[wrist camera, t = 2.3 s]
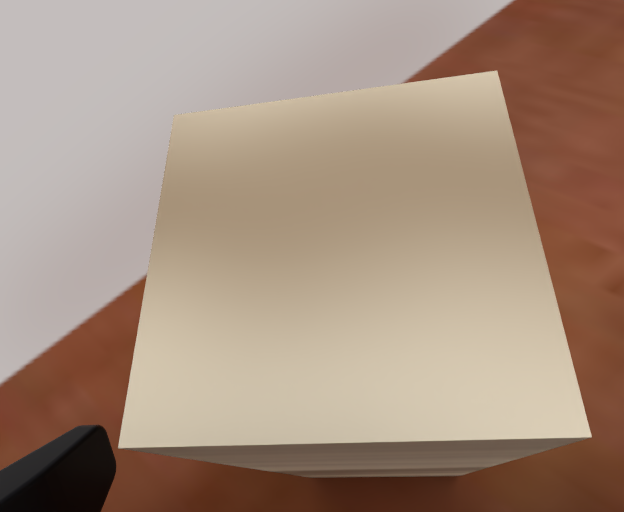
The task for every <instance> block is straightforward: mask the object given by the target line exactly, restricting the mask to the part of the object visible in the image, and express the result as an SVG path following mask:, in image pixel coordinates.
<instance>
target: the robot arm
mask: <svg viewBox="0 0 624 512" xmlns="http://www.w3.org/2000/svg"><path fill="white" fill-rule="evenodd" d="M115 472H116V461H115V457H114V454H113V451H112V448H111V445H110V442H109V438H108V435H107V432H106V430H105V429H104V428H103V427H102V426H100V425H81V426H78V427H75V428H74V429H72V430H70V431H68V432H67V433H65V434H63V435H62V436H60V437H58V438H56V439H55V440H53V441H51V442H49V443H48V444H46V445H44V446H42V447H41V448H39V449H37V450H35V451H34V452H32V453H30V454H28V455H27V456H25V457H23V458H21V459H20V460H18V461H16V462H14V463H13V464H11V465H9V466H8V467H6V468H4V469H2V470H1V471H0V512H101V510H102V507H103V505H104V502H105V500H106V497H107V495H108V492H109V489H110V487H111V484H112V482H113V479H114V476H115Z"/></svg>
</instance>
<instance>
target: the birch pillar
mask: <svg viewBox="0 0 624 512" xmlns="http://www.w3.org/2000/svg"><path fill="white" fill-rule="evenodd" d="M591 437H592V436H591V433H590V429H589V425H588V421H587V417H586V413H585V409H584V405H583V402H582V398H581V394H580V390H579V386H578V382H577V378H576V375H575V371H574V367H573V363H572V359H571V355H570V351H569V347H568V344H567V340H566V336H565V332H564V328H563V324H562V320H561V317H560V313H559V309H558V305H557V301H556V297H555V293H554V289H553V286H552V282H551V278H550V274H549V270H548V266H547V262H546V259H545V255H544V251H543V247H542V243H541V239H540V235H539V231H538V228H537V224H536V220H535V216H534V212H533V208H532V204H531V200H530V197H529V193H528V189H527V185H526V181H525V177H524V173H523V170H522V166H521V162H520V158H519V154H518V150H517V146H516V142H515V139H514V135H513V131H512V127H511V123H510V119H509V115H508V112H507V108H506V104H505V100H504V96H503V92H502V88H501V84H500V81H499V77H498V73H497V71H491V72H484V73H476V74H469V75H462V76H455V77H447V78H440V79H433V80H426V81H418V82H411V83H404V84H397V85H389V86H382V87H375V88H368V89H360V90H353V91H346V92H338V93H332V94H324V95H317V96H310V97H302V98H296V99H288V100H280V101H273V102H266V103H259V104H252V105H245V106H237V107H230V108H223V109H215V110H208V111H200V112H193V113H186V114H179V115H174V119H173V124H172V131H171V137H170V142H169V149H168V154H167V161H166V166H165V172H164V178H163V184H162V190H161V196H160V202H159V208H158V214H157V220H156V225H155V231H154V237H153V243H152V249H151V255H150V261H149V267H148V273H147V279H146V285H145V291H144V297H143V303H142V309H141V315H140V321H139V326H138V332H137V338H136V344H135V350H134V356H133V362H132V368H131V374H130V380H129V386H128V392H127V398H126V404H125V410H124V416H123V421H122V427H121V433H120V439H119V445H118V448H121V449H127V450H134V451H140V452H147V453H153V454H160V455H166V456H173V457H179V458H186V459H192V460H199V461H205V462H212V463H218V464H225V465H232V466H238V467H245V468H251V469H258V470H264V471H271V472H277V473H284V474H290V475H297V476H303V477H310V478H327V477H414V476H461V475H464V474H468V473H471V472H475V471H478V470H481V469H485V468H488V467H492V466H495V465H499V464H502V463H505V462H509V461H512V460H516V459H519V458H523V457H526V456H529V455H533V454H536V453H540V452H543V451H547V450H550V449H553V448H557V447H560V446H564V445H567V444H571V443H574V442H577V441H581V440H584V439H588V438H591Z"/></svg>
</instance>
